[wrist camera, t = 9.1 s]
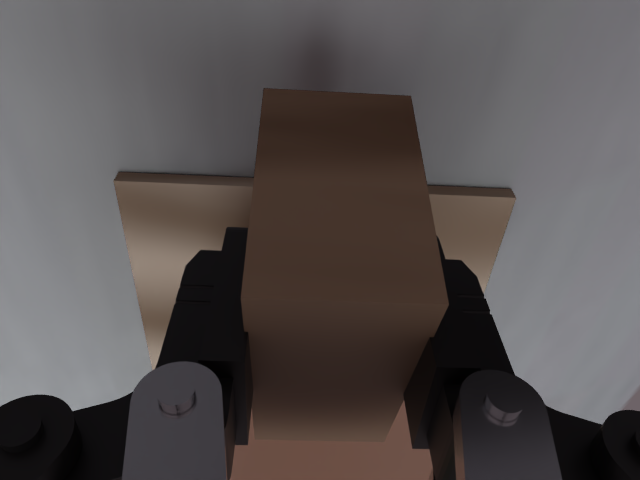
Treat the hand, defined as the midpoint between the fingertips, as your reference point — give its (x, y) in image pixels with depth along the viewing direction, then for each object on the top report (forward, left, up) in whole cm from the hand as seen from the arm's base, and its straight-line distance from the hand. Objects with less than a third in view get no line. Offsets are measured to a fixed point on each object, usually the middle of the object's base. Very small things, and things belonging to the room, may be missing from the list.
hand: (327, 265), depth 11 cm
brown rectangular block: (+2, 0, -3) cm, 3 cm away
